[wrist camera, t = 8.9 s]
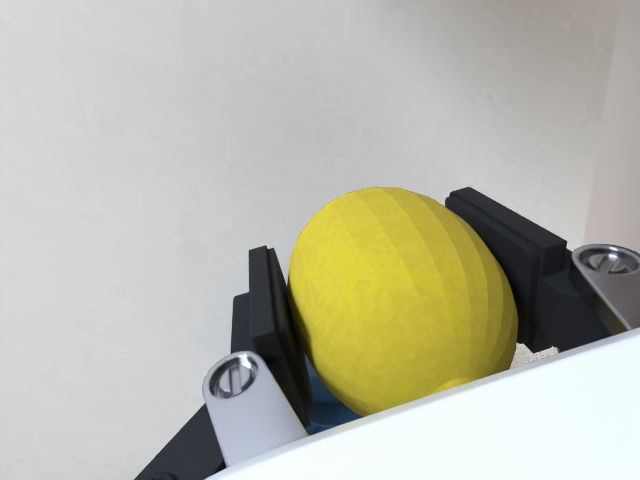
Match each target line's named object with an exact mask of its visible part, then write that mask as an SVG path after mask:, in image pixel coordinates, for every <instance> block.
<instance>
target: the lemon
mask: <svg viewBox="0 0 640 480" xmlns="http://www.w3.org/2000/svg"><path fill="white" fill-rule="evenodd" d="M287 293H288V301H289V306H290V312H291V317H292V322H293V326H294V330H295V333H296V335H297V338H298V340H299V342H300V344H301V346H302V349H303V350H304V352H305V354H306V356H307V358H308V359H309V361H310V363H311V365H312V367H313V368H314V370H315V372H316V374H317V375H318V377H319V378H320V380H321V381H322V382H323V384H324V385H325V386H326V387H327V388H328V390H329V391H330V392H331V393H332V394H333V395H334V396H335V397H337V398H338V399H339V400H340V401H341V402H342V403H343V404H345V405H346V406H347V407H348V408H350V409H351V410H352V411H354V412H355V413H357V414H359V415H361V416H363V417H366V416H369V415H372V414H375V413H378V412H381V411H384V410H387V409H390V408H393V407H396V406H399V405H402V404H405V403H408V402H411V401H414V400H417V399H420V398H423V397H426V396H429V395H433V394H436V393H439V392H442V391H445V390H448V389H451V388H454V387H457V386H460V385H463V384H466V383H469V382H472V381H475V380H478V379H481V378H484V377H487V376H490V375H494V374H497V373H500V372H503V371H506V370H509V369H510V366H511V363H512V360H513V357H514V354H515V351H516V343H517V331H518V315H517V309H516V305H515V301H514V297H513V294H512V290H511V287H510V285H509V282H508V279H507V277H506V275H505V273H504V271H503V269H502V268H501V266H500V264H499V263H498V261H497V260H496V258H495V257H494V256H493V254H492V253H491V252H490V250H489V249H488V247H487V246H486V245H485V243H484V242H483V241H482V239H481V238H480V237H479V236H478V234H477V233H476V232H475V231H474V230H473V229H472V228H471V226H470V225H469V224H468V223H466V222H465V221H464V220H463V219H462V218H460V217H459V216H458V215H456V214H455V213H453V212H452V211H450V210H449V209H447V208H446V207H444V206H443V205H441V204H440V203H438V202H437V201H435V200H433V199H431V198H429V197H427V196H424V195H421V194H417V193H414V192H411V191H408V190H404V189H401V188H392V187H371V188H367V189H362V190H358V191H353V192H349V193H347V194H345V195H343V196H341V197H339V198H337V199H335V200H333V201H331V202H330V203H328V204H327V205H326V206H325V207H323V208H322V209H321V210H320V211H319V212H317V213H316V214H315V215H314V216H313V218H312V219H311V220H310V222H309V223H308V224H307V226H306V227H305V228H304V230H303V231H302V232H301V234H300V236H299V238H298V241H297V243H296V245H295V248H294V250H293V252H292V255H291V260H290V267H289V276H288V284H287Z"/></svg>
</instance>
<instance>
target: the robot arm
mask: <svg viewBox="0 0 640 480" xmlns="http://www.w3.org/2000/svg"><path fill="white" fill-rule="evenodd" d="M445 207H446V208H447V209H449V210H450V211H452V212H453V213H455V214H456V215H458V216H459V217H460V218H462V219H463V220H464V221H465V222H466V223H468V224H469V225H470V226H471V228H472V229H473V230H474V231H475V232H476V233H477V234H478V236H479V237H480V238H481V239H482V241H483V242H484V243H485V245H486V246H487V247H488V249H489V250H490V252H491V253H492V254H493V256H494V257H495V258H496V260H497V261H498V263H499V264H500V266H501V268H502V269H503V271H504V273H505V275H506V277H507V279H508V282H509V285H510V287H511V290H512V294H513V297H514V301H515V305H516V309H517V315H518V331H517V343H519V344H523V343H524V344H525V345H526V346H527V347H528V349H529V350H530V351H531V352H532V353H536V352H540V351H543V350H546V349H549V348H551V347H552V346H553V347H556V348H557V350H558V354H555V355H552V356H549V357H546V358H543V359H540V360H537V361H533V362H530V363H527V364H524V365H521V366H518V367H515V368H512V369H509V370H506V371H503V372H500V373H497V374H494V375H490V376H487V377H484V378H481V379H478V380H475V381H472V382H469V383H466V384H463V385H460V386H457V387H454V388H451V389H448V390H445V391H442V392H439V393H436V394H433V395H429V396H426V397H423V398H420V399H417V400H414V401H411V402H408V403H405V404H402V405H399V406H396V407H393V408H390V409H387V410H384V411H381V412H378V413H375V414H372V415H369V416H366V417H363V418H360V419H357V420H354V421H351V422H348V423H345V424H342V425H339V426H336V427H334V428H331V429H328V430H325V431H322V432H319V433H316V434H314V435H311V436H309V435H308V433H307V432H306V430H305V429H306V427H308V426H311V423H310V418H309V412H311V411H314V410H315V404H314V399H313V394H312V389H311V384H310V379H309V374H308V369H307V364H306V359H305V354H304V350H303V349H302V346H301V344H300V342H299V340H298V338H297V335H296V333H295V330H294V326H293V322H292V317H291V312H290V306H289V301H288V293H287V286H286V283H285V280H284V277H283V274H282V271H281V268H280V265H279V262H278V259H277V256H276V253H275V250H274V248H271V249H267V246H266V245H265V246H262V247H258V248H255V249H251V250H249V292H248V293H244V294H241V295H238V296H235V297H234V300H233V317H232V335H231V354H230V355H228V356H226V357H224V358H222V359H221V360H220V361H218V362H217V363H216V364H215V365H214V366H213V367H212V368H211V369H210V370H209V371H208V373H207V375H206V376H205V378H204V381H203V385H202V391H203V397H204V400H205V404H204V405H203V406H202V407H201V408H200V409H199V410H198V411H197V412H196V413H195V415H194V416H193V417H192V418H191V419H190V420H189V421H188V422H187V423H186V424H185V425H184V426H183V427H182V429H181V430H180V431H179V432H178V433H177V434H176V435H175V436H174V437H173V438H172V439H171V440H170V441H169V443H168V444H167V445H166V446H165V447H164V448H163V449H162V450H161V451H160V452H159V453H158V454H157V455H156V457H155V458H154V459H153V460H152V461H151V462H150V463H149V464H148V465H147V466H146V467H145V468H144V469H143V471H142V472H141V473H140V474H139V475H138V476H137V477H136V478H135V479H134V480H640V254H638V253H637V252H635V251H632V250H630V249H627V248H624V247H620V246H616V245H608V244H590V245H585V246H581V247H579V248H577V249H575V250H574V251H573V252H572V251H570V250H568V249H567V248H566V245H567V241H566V240H564V239H562V238H560V237H559V236H557V235H555V234H553V233H551V232H550V231H548V230H546V229H544V228H542V227H541V226H539V225H537V224H535V223H534V222H532V221H530V220H528V219H526V218H525V217H523V216H521V215H519V214H517V213H516V212H514V211H512V210H510V209H508V208H507V207H505V206H503V205H501V204H499V203H498V202H496V201H494V200H492V199H491V198H489V197H487V196H485V195H483V194H482V193H480V192H478V191H476V190H474V189H473V188H471V187H466V188H463V189H459V190H456V191H452V192H451V193H450V195H449V197H447V198H446V200H445Z"/></svg>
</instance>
